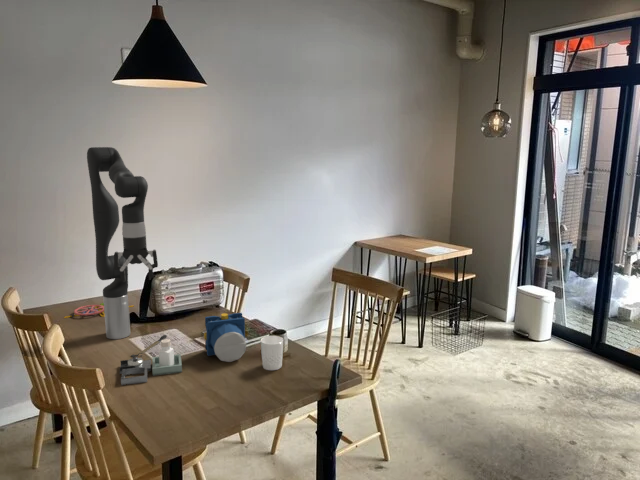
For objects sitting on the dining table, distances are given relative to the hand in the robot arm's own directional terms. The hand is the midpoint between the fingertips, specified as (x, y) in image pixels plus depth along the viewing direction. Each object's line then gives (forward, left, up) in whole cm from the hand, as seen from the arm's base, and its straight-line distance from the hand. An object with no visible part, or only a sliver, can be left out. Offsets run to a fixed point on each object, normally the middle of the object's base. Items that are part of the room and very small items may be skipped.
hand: (137, 280), depth 179 cm
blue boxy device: (+4, +30, -30) cm, 43 cm away
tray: (+9, +9, -30) cm, 32 cm away
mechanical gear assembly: (-60, -20, -31) cm, 71 cm away
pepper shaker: (+9, +8, -30) cm, 32 cm away
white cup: (+18, +44, -30) cm, 56 cm away
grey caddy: (+11, -2, -30) cm, 32 cm away
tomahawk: (-11, +4, -31) cm, 33 cm away
